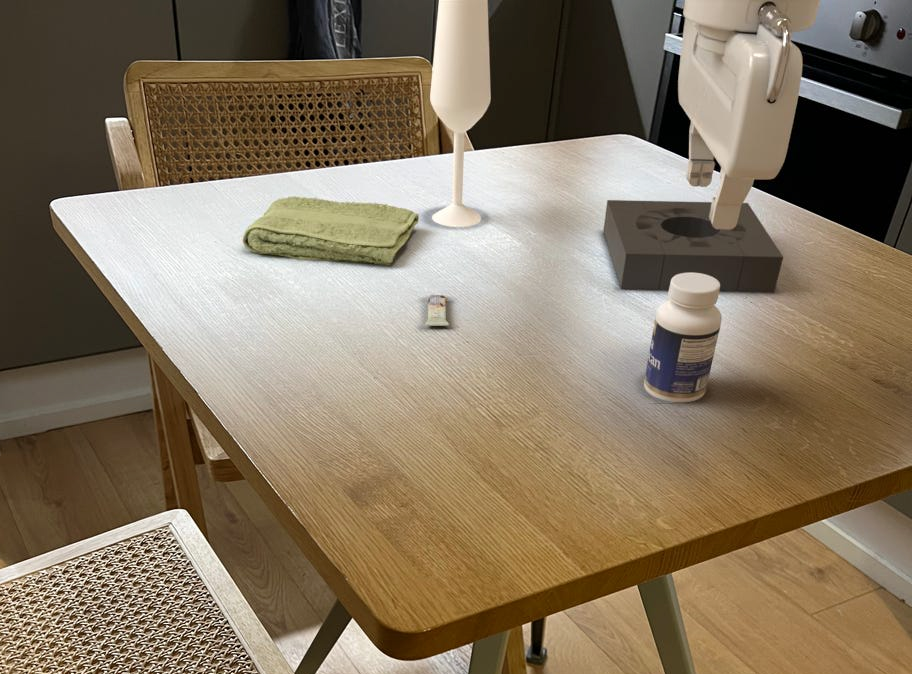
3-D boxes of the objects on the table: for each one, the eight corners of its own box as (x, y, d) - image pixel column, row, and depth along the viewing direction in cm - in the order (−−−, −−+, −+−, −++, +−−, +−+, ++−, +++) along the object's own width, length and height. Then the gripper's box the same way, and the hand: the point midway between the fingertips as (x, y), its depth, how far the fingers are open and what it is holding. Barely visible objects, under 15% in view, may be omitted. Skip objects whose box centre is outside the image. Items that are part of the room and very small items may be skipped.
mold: (739, 238, 112) (747, 202, 110) (773, 295, 101) (783, 256, 98) (602, 235, 112) (607, 199, 110) (620, 292, 101) (626, 253, 98)
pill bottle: (634, 378, 87) (652, 270, 80) (690, 374, 88) (713, 266, 81) (655, 408, 83) (676, 297, 76) (714, 403, 84) (740, 293, 77)
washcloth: (396, 272, 104) (396, 242, 101) (239, 257, 106) (236, 227, 104) (421, 229, 113) (421, 200, 111) (276, 216, 115) (274, 188, 113)
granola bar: (448, 331, 93) (449, 320, 92) (424, 330, 93) (425, 320, 92) (448, 301, 98) (448, 291, 97) (425, 301, 98) (425, 291, 97)
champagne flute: (477, 233, 112) (488, -13, 96) (422, 227, 114) (423, -17, 97) (490, 213, 117) (502, -24, 101) (436, 208, 118) (440, -28, 102)
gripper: (846, 24, 58) (783, 256, 67) (764, -32, 73) (722, 164, 82) (740, 20, 58) (692, 254, 67) (681, -35, 73) (648, 162, 82)
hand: (708, 204), depth 75 cm, fingers open, 8 cm apart
